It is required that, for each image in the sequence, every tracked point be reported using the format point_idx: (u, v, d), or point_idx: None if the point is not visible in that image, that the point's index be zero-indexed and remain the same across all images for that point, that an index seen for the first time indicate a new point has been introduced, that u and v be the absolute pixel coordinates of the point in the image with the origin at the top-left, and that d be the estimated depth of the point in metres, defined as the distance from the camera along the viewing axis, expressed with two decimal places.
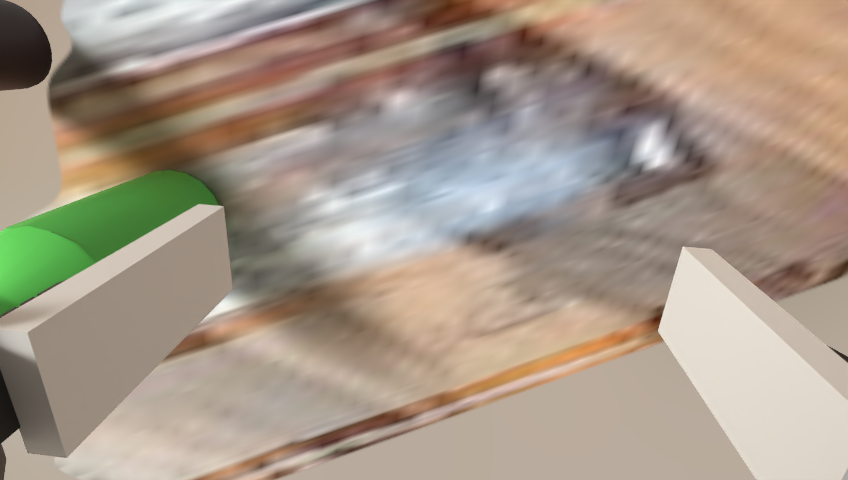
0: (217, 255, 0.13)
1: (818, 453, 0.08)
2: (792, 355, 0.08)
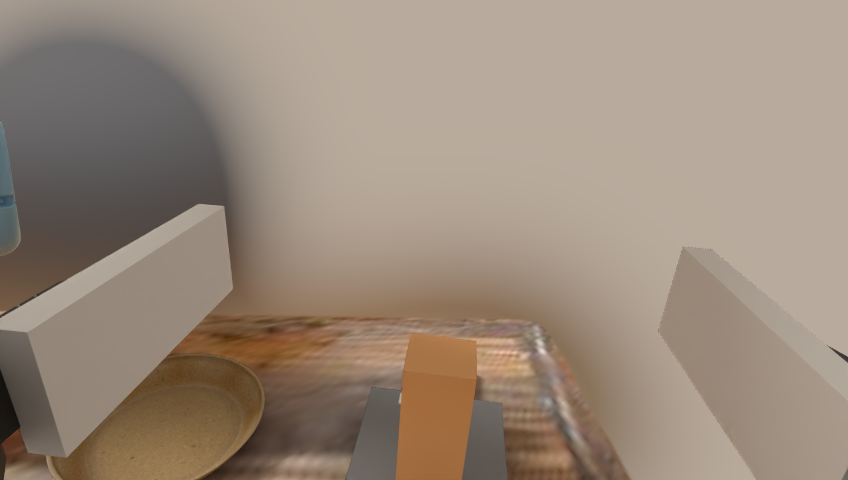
0: (217, 255, 0.13)
1: (818, 453, 0.08)
2: (792, 355, 0.08)
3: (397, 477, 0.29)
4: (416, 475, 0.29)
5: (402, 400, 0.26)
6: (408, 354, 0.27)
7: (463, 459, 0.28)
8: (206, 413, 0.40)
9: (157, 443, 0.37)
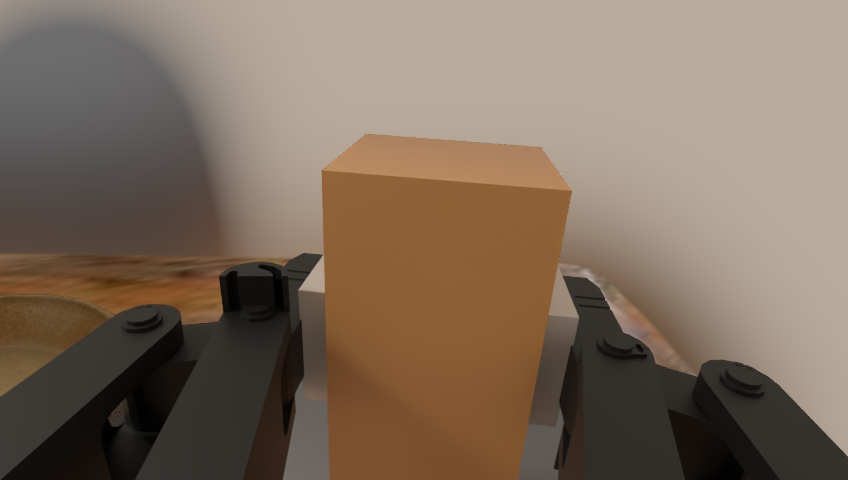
0: None
1: None
2: None
3: None
4: None
5: (330, 283, 0.08)
6: (349, 152, 0.09)
7: (516, 469, 0.10)
8: None
9: None
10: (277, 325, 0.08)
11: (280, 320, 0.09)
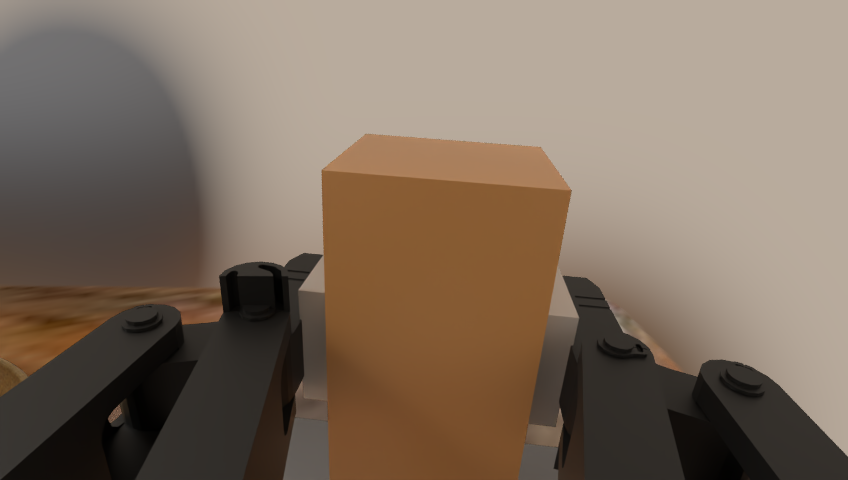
0: None
1: None
2: None
3: None
4: None
5: (329, 283, 0.08)
6: (349, 152, 0.09)
7: (516, 469, 0.10)
8: None
9: None
10: (277, 325, 0.08)
11: (280, 320, 0.09)
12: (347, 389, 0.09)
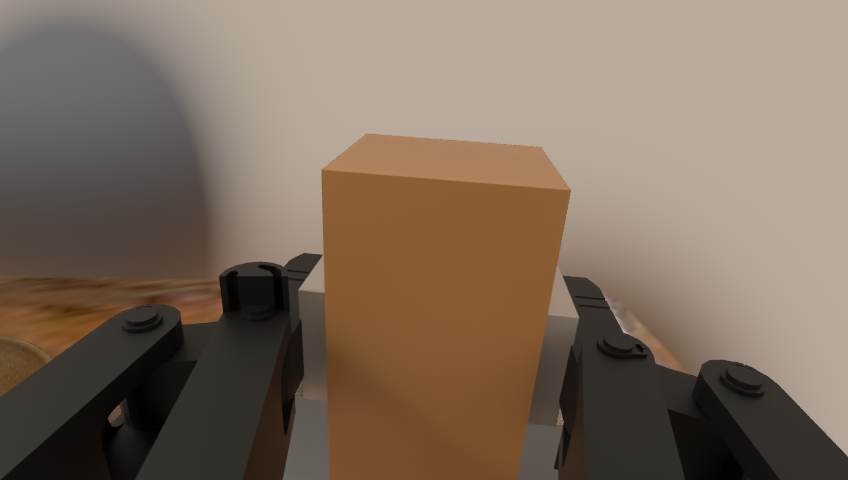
0: None
1: None
2: None
3: None
4: None
5: (329, 282, 0.08)
6: (349, 152, 0.09)
7: (515, 468, 0.10)
8: None
9: None
10: (277, 325, 0.08)
11: (280, 320, 0.09)
12: (347, 388, 0.09)
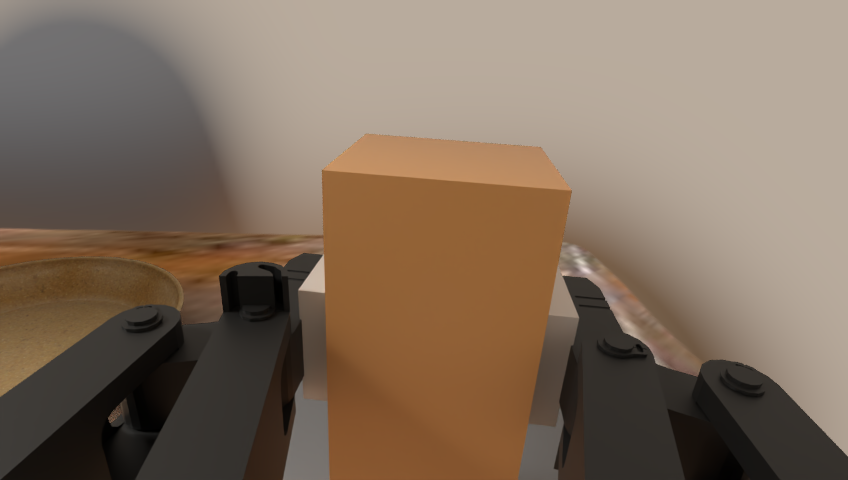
0: None
1: None
2: None
3: None
4: None
5: (330, 283, 0.08)
6: (349, 152, 0.09)
7: (516, 469, 0.10)
8: None
9: (5, 367, 0.23)
10: (277, 325, 0.08)
11: (280, 320, 0.09)
12: (347, 389, 0.09)
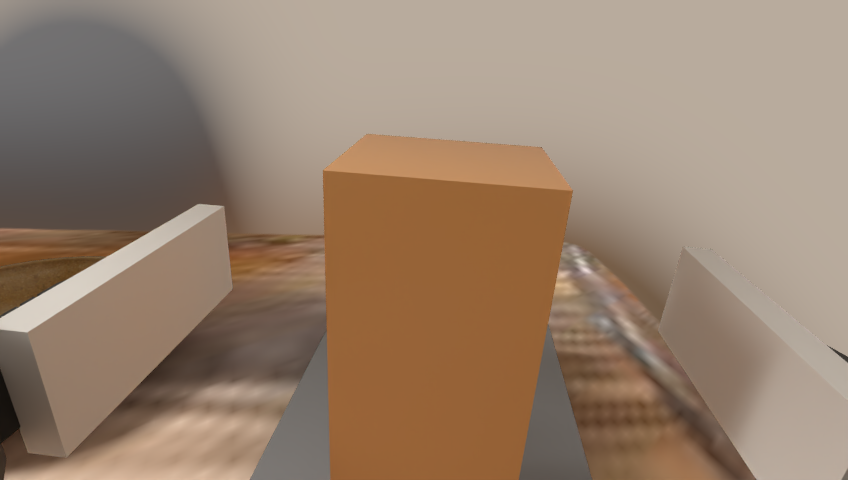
0: (217, 255, 0.13)
1: (818, 453, 0.08)
2: (792, 355, 0.08)
3: None
4: None
5: (330, 283, 0.08)
6: (350, 152, 0.09)
7: (516, 469, 0.10)
8: None
9: None
10: None
11: None
12: (348, 389, 0.09)
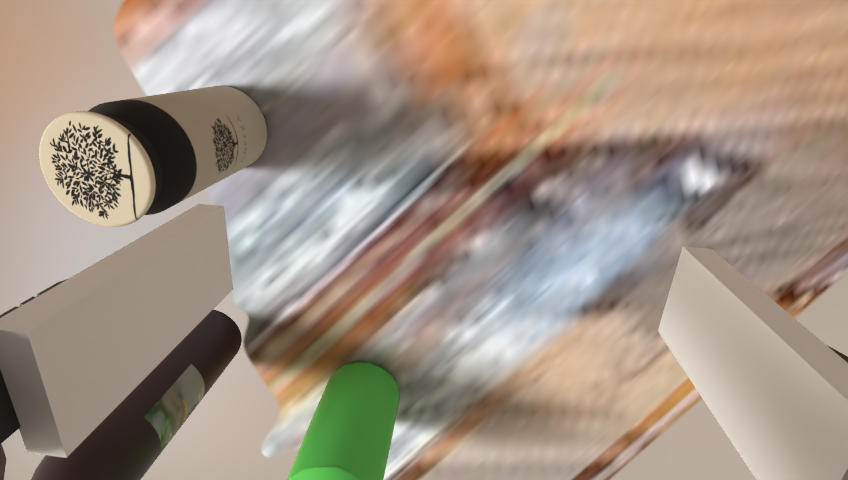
0: (217, 255, 0.13)
1: (818, 453, 0.08)
2: (792, 355, 0.08)
3: None
4: None
5: None
6: None
7: None
8: None
9: None
10: None
11: None
12: None
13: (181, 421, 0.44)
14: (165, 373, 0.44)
